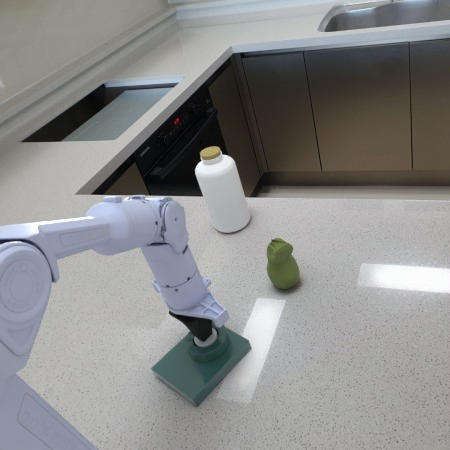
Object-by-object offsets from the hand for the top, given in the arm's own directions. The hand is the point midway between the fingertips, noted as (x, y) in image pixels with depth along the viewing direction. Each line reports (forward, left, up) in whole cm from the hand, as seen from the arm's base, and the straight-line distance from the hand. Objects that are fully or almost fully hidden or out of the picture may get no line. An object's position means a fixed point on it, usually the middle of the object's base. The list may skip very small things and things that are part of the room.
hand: (205, 336), depth 71 cm
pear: (+18, -1, -4) cm, 19 cm away
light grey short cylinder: (0, 0, -2) cm, 2 cm away
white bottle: (+27, +22, -4) cm, 35 cm away
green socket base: (-2, 0, -4) cm, 5 cm away
